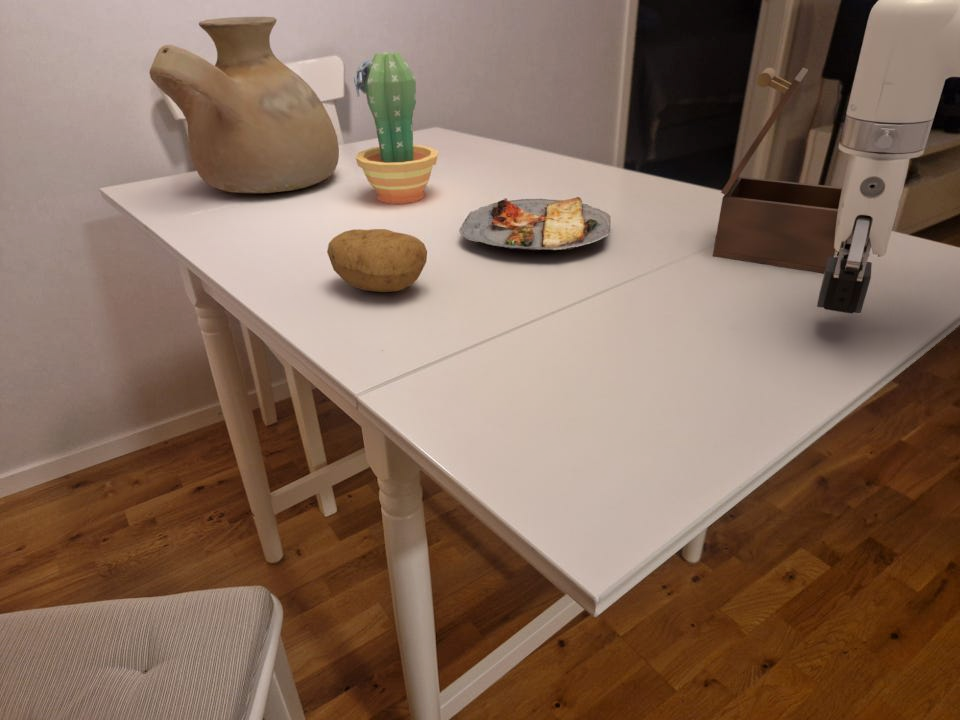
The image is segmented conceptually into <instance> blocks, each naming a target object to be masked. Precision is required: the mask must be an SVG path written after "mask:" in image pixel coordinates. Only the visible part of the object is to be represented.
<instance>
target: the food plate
mask: <svg viewBox="0 0 960 720" xmlns="http://www.w3.org/2000/svg"><path fill="white" fill-rule="evenodd" d="M611 218H612V216H611V215H610V214H609V213H607V212H606V211H604V210H602V209H600V208H598V207H597V208H596V207H593V206H591V205H589V204H586V203H583V200H582V198H581V197H579V196H576V197H573V198H569V199H565V200H562V199H561V200H560V199H548V198H521V199H514V200H508V198H507V197H506V198H503V199H500V200H499V201H497V202H493V203H490V204H488V205H485V206H481V207H479V208H478V209H475V210H472V211H470V212H469V213H468V214H467V216H466V218H465V219H464V221H463V222H462V224H461V226H460V227H459V230H458V232H459V234H460V235H461V236H462V237H464V239H466V240H468V241H473V242H475V243H478V242H480V243H482V244H486V245H491V246H494V247H495V246H496V247H499V248H501V247H502V248H508V249H511V250H525V251H526V250H528V251H529V250H530V251H545V250H549V251H558V250H562V251H565V250H569V251H571V250H572V249H575V248H578V247H582V246H586V245H589V244H592V243H595V242H599V241H600V240H603V239H604V238H606V237H608V236H610V233H611V220H612V219H611Z"/></svg>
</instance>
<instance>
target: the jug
mask: <svg viewBox="0 0 960 720" xmlns="http://www.w3.org/2000/svg"><path fill="white" fill-rule="evenodd" d="M276 23H277V18H276V17H274V16H238V17H237V16H235V17H234V16H233V17H231V16H230V17H221V18H212V19H205V20H200V21H199V22H198V26H199V28H201V29H202V30H203V31H204V32H206V34H207V35H208V36H209V37H210V38H211V40H212V41H213V43H214V46H215V49H216V61H215V65H214V64H212V63H211V62H209V61H208V60H207V59H205V58H204V57H201V56H200V55H198V54H196V53H194V52H192V51H190V50H187V49H185V48H183V47H180V46H176V45H174V44H163V45H162V46H161V47H160V48H159V49H158V51H157V52H156V54H155V56H154V59H153V62H152V63H151V66H150V68H149V71H148V72H149V77H150V79H151V81H152V82H153V83H154V84H155V85H156V86H157V87H158V88H159V89H160V91H162V92H163V93H164V94H165V95H166V96H167V97H168V98H169V99H171V101H172V102H173V103H174V104H175V105H176V106H177V107H178V109H179V110H180V111H181V113H182V114H183V116H184V118H185V121H186V124H187V125H186V127H187V139H188V148H189V153H190V158H191V161H192V164H193V167H194V169H195V171H196V172H197V174H198V176H199V177H200V178H201V179H202V180H203V181H204V182H205V183H206V184H208V185H209V186H211V187H212V188H214V189H217V190H220V191H224V192H227V193H228V192H229V193H233V194H274V193H281V192H289V191H296V190H301V189H305V188H308V187H311V186H314V185H317V184H319V183H320V182H323V181H324V180H326V179H328V178H329V177H330V176H331V175H333V173H334V172H335V171H336V168H337V167H338V164H339V159H340V158H339V157H340V146H339V141H338V135H337V134H338V133H337V132H336V129H335V126H334V124H333V121H332V119H331V117H330V115H329V113H328V112H327V111H328V110H327V109H326V107H325V106H324V104H323V102H322V100H321V99H320V97H319V96H318V95H317V93H316V91H314V89H313V88H312V87H311V86H310V85H309V83H308V82H307V81H305V79H303V78H302V77H301V76H300V75H299V74H297V73H296V72H295V71H294V70H293V69H291V68H290V67H289V66H287V65H286V64H285V63H284V62H282V61H281V60H279V59H278V57H277V56H276V55H275V54H274V52H273V50H272V47H271V44H270V43H271V42H270V36H271V33H272V30H273V29H274V26H275V25H276Z"/></svg>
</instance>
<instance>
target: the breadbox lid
mask: <svg viewBox="0 0 960 720" xmlns="http://www.w3.org/2000/svg"><path fill="white" fill-rule="evenodd" d="M808 72H809V69H808V68H805V67H802V69H801V70H800V71H799V72H798V74H797V75H796V76H795V78H794V79H793V80H792V81H791V82H789V81H788V80H786V79H784V78H782V77H780V76H778V75H777V72H776V70H775V68H773V67H767V68H765V69H763V71H762V72H760V73H759V75H757V77H756V82H755V83H756V85H757V86H758V87H760V88H767V87H770V88H772V89H774V90H776V91H778V92H780V93H782V94H783V96H782V98H781V99H780V100H779V102H778V104H777V105H776V107H775V108H774V109H773V112H772V113H771V115H770V116H769V117H768V119H767V120H766V122H765V124H764V125H763V127H762V129H761V130H760V131H759V133H758V134H757V136H756V138H755V139H754V140H753V142H752V144H751V145H750V146H749V148H748V150H747V151H746V153H745V154H744V156H743V157H742V159H741V161H740V162H739V164H738V165H737V167H736V168H735V170H734V171H733V173H732V175H731V176H730V177H729V179H728V181H727V182H726V184H725V185H724V187H723V189H722V190H721V191H720V193H721V194H723V196H724V195H726V194H727V193H728V191H729V190H730V188H731V187H732V185H733V184H734V182H735V181H736V179H737V178H738V177H740V175H741V173H742V172H743V171H744V169H745V168H746V166H747V165H748V163H749V161H750V160H751V158H752V156H753V155H754V154H755V152H756V151H757V149H758V148H759V146H760V145H761V143H762V142H763V140H764V139H765V137H766V136H767V134H768V132H769V131H770V129H771V128H772V126H773V125H774V123H775V122H776V120H777V119H778V117H779V116H780V114H781V113H782V111H783V109H785V106H786V105H787V103H788V102H789V101H790V99H791V97H792V96H793V94H794V93H795V91H796V90H797V88H798V87H799V85H800V83H801V82H802V81H803V79H804V78H805V76H806V75H807V73H808Z"/></svg>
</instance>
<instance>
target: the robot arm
mask: <svg viewBox="0 0 960 720" xmlns="http://www.w3.org/2000/svg"><path fill="white" fill-rule="evenodd" d="M866 22H867V23H866V27H865V31H864V34H863V39H862V45H861V48H860V52H859V57H858V61H857V65H856V70H855V74H854V79H853V83H852V87H851V92H850V96H849V100H848V104H847V109H846V114H845V118H844V122H843V126H842V130H841V135H840V138H839V143H838V150H839V151H841V152H842V153H844V154H848V155H849V157H848V162H847V165H846V169H845V174H844V177H843V178H844V179H843V182H842V192H841V196H840V202H839V207H838V213H837V221H836V230H835V241H834V248H835V250H836V251H835V252H837V253H836V256H834V258H838V259H837V263H836V268H835V272H834V275H833V274H831V277H830V281H829V285H828V289H827V293H826V297H825V301H824V305H823V308H822V309H824V310H826V311H832V312H839V313H845V314H855V313H854V312H855V311H856V308H857V304H858V301H859V297H860V294H861V290H862V286H863V283H864V279H863V275H864V272H865V268H866V264H867V262H868V260H869V257H870V251H871V253H872V255H877V257H878V258H882V257H884V256H886V254H887V251H888V247H889V243H890V240H891V235H892V231H893V227H894V224H895V221H896V216H897V213H898V210H899V206H900V202H901V200H902V199H901V198H902V194H903V190H904V186H905V183H906V179H907V174H908V169H909V164H910V159H914V158H919V157H921V156H923V155H924V153H925V149H926V146H927V143H928V139H929V135H930V132H931V129H932V126H933V122H934V119H935V115H936V112H937V109H938V106H939V103H940V99H941V95H942V93H943V89H944V86H945V82H946V80H947V79H949V78H960V0H877V1H876V3H875V4H873V6H872V7H871V10H870V12H869V15H868V19H867V21H866ZM843 259H847V260H844V261H843Z"/></svg>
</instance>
